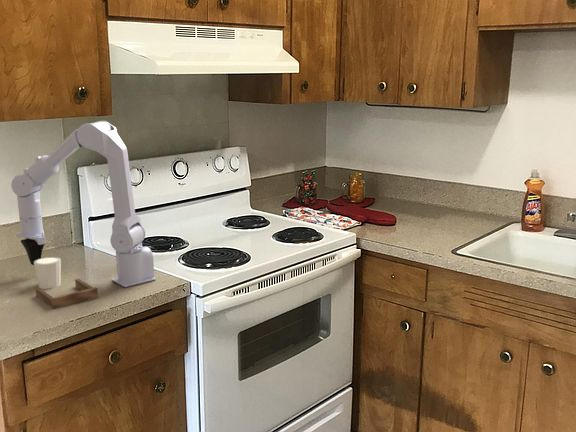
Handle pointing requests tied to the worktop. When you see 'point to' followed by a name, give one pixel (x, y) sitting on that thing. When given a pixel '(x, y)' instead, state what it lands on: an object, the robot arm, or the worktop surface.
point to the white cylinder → (48, 272)
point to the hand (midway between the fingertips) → (35, 263)
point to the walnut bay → (69, 295)
